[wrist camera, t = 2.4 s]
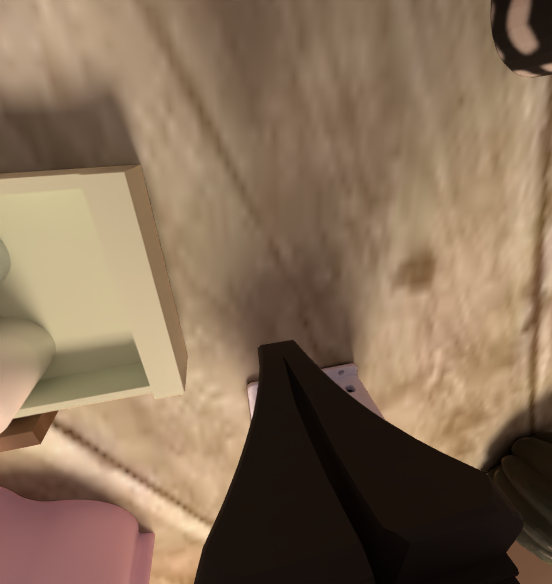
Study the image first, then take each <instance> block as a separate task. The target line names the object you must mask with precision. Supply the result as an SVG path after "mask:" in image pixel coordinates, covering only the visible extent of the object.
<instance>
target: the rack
mask: <svg viewBox="0 0 552 584" xmlns="http://www.w3.org/2000/svg"><path fill="white" fill-rule="evenodd" d="M57 412H58V410H57V411H51V412H46V413H41V414H35V415H30V416H24V417H19V418H14V419H12V421H11V422H10V424H9V425H8V427H7V428H6V429H5V430H4V431H3V432H2V433H0V452H3V451H8V450H13V449H18V448H23V447H28V446H33V445H38V444H41V442H42V440H43V439H44V437H45V435H46V433H47V431H48V429H49V427H50V425H51V424H52V422H53V420H54V418H55V416H56V414H57Z"/></svg>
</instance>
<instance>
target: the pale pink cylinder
mask: <svg viewBox="0 0 552 584" xmlns="http://www.w3.org/2000/svg"><path fill="white" fill-rule="evenodd" d="M55 354H56V345H55V342H54V340H53V338H52V336H51V335H50V334H49V333H48V332H47V331H46V330H45V329H44V328H42V327H41V326H39V325H38V324H36V323H34V322H32V321H29V320H26V319H23V318H18V317H11V316H1V317H0V433H2V432H3V431H4V430H5V429H6V428H7V427H8V425H9V424H10V422H11V421H12V419H13V418H14V416H15V415H16V413H17V412H18V410H19V409H20V407H21V406H22V405H23V403H24V402H25V400H26V399H27V397H28V396H29V394H30V393H31V391H32V390H33V388H34V387H35V385H36V384H37V382H38V381H39V379H40V378H41V376H42V375H43V374H44V372H45V371H46V369H47V368H48V366H49V365H50V363H51V362H52V360H53V359H54V357H55Z"/></svg>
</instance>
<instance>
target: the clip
mask: <svg viewBox="0 0 552 584" xmlns="http://www.w3.org/2000/svg"><path fill="white" fill-rule="evenodd" d="M154 540H155V534H154V533H139V526H138V522H137V520H136V519H135V517H134V516H133V515H132V514H131V513H130V512H128V511H127V510H125V509H123V508H121V507H119V506H116V505H113V504H110V503H106V502H101V501H95V500H80V499H76V500H60V501H49V502H44V501H34V500H30V499H26V498H23V497H21V496H19V495H18V494H16V493H14V492H13V491H11V490H8V489H6V488H3V487H1V486H0V584H149V580H150V572H151V564H152V556H153V548H154Z"/></svg>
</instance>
